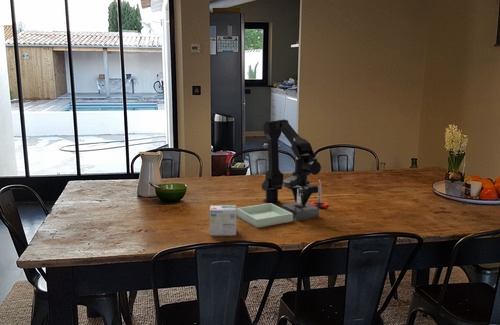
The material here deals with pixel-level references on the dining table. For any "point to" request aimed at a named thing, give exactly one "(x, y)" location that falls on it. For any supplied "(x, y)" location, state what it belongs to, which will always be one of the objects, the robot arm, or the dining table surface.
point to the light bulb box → (223, 220)
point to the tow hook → (319, 200)
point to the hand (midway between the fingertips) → (300, 204)
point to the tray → (264, 215)
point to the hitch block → (301, 211)
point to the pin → (299, 198)
